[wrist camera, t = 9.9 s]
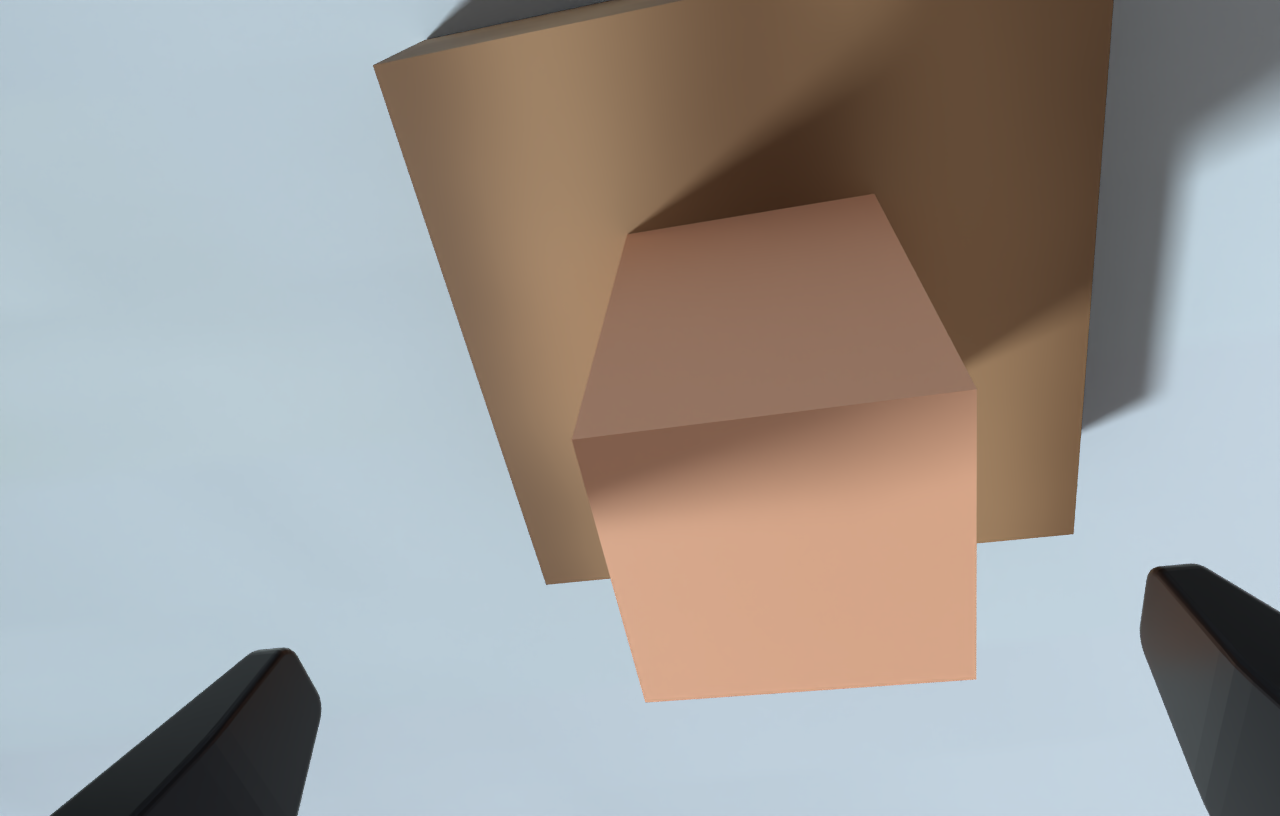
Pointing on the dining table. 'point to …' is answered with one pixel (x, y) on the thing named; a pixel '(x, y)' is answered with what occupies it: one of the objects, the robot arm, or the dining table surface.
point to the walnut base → (766, 199)
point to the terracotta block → (782, 459)
